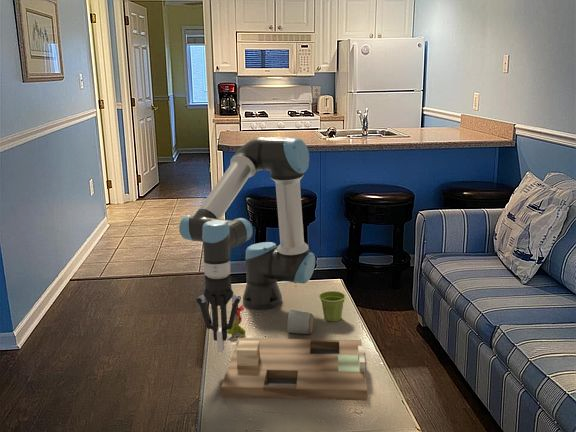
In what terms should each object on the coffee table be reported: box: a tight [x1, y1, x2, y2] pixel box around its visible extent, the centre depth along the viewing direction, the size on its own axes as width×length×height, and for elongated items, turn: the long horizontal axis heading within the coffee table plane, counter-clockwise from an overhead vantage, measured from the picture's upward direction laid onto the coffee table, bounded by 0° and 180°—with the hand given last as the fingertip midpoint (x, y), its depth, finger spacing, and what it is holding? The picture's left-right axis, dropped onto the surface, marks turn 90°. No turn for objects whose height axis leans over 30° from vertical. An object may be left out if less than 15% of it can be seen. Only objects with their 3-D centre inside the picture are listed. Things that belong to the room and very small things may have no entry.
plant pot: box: [318, 290, 347, 322], centre depth 199 cm, size 9×9×9 cm
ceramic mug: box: [286, 309, 315, 335], centre depth 190 cm, size 11×8×8 cm
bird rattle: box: [227, 303, 246, 336], centre depth 190 cm, size 6×11×9 cm
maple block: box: [236, 340, 260, 366], centre depth 164 cm, size 6×6×5 cm
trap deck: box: [220, 337, 368, 401], centre depth 164 cm, size 29×40×6 cm
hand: (221, 349), depth 165 cm, fingers closed
